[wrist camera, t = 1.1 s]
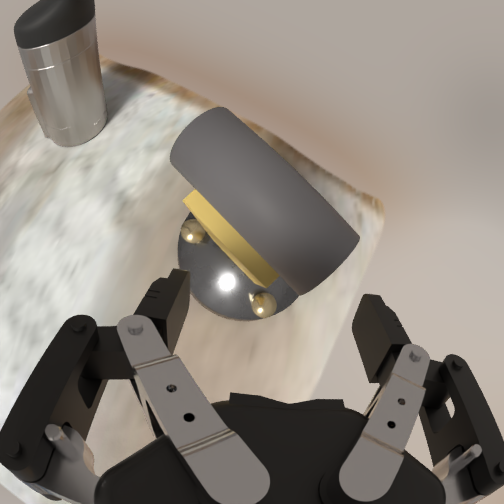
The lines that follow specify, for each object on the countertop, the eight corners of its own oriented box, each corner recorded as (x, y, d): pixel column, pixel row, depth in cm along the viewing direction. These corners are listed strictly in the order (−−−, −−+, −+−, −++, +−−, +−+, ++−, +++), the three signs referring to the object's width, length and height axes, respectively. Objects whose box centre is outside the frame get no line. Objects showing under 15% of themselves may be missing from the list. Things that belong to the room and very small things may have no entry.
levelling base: (244, 349, 30) (250, 349, 28) (150, 249, 31) (148, 241, 29) (326, 260, 36) (335, 254, 34) (243, 175, 37) (247, 165, 34)
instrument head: (260, 289, 31) (294, 312, 10) (208, 235, 31) (147, 159, 10) (294, 256, 31) (382, 217, 10) (242, 203, 31) (240, 84, 11)
